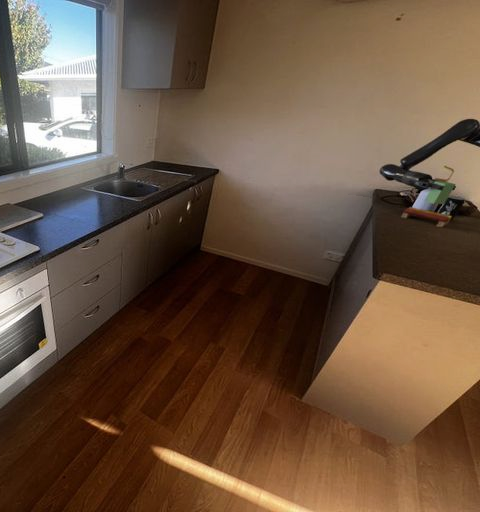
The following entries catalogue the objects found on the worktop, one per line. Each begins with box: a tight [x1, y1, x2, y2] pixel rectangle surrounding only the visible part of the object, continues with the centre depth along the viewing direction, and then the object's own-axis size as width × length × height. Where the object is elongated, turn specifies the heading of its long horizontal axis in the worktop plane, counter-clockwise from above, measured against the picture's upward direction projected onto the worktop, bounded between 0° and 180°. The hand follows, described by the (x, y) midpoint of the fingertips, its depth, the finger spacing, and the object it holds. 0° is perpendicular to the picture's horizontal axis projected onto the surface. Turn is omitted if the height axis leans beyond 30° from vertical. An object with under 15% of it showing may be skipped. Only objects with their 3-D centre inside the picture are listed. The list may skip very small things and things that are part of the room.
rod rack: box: [400, 206, 452, 228], centre depth 151 cm, size 16×7×5 cm, turn 28°
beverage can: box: [436, 195, 466, 222], centre depth 151 cm, size 7×7×12 cm
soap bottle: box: [411, 165, 455, 212], centre depth 160 cm, size 9×9×25 cm
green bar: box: [424, 181, 456, 204], centre depth 145 cm, size 5×5×10 cm
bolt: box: [458, 204, 476, 216], centre depth 164 cm, size 6×5×15 cm
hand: (448, 188), depth 141 cm, fingers closed on green bar, 5 cm apart
